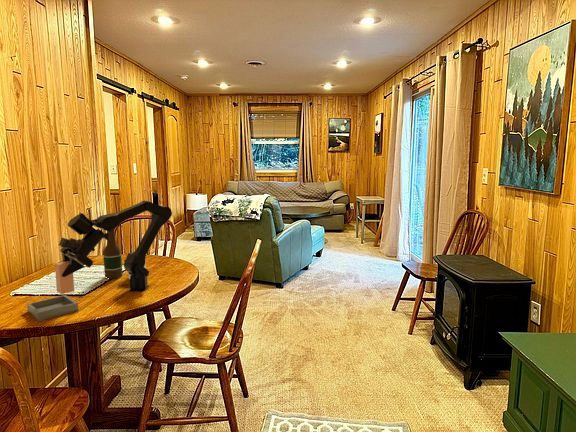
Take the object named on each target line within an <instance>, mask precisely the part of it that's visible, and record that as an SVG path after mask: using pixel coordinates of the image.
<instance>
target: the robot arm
mask: <svg viewBox="0 0 576 432" xmlns="http://www.w3.org/2000/svg"><path fill="white" fill-rule="evenodd" d="M145 212H149V213H151V217H150V224H149V225H148V227H147V229H146V231H145V233H144V235H143V236H142V238H141V240H140V242H139V244H138V246H137V247H136V249H135V251H133V252H134V253H132V254H130V253H131V252H129V253H127V254H128V255H126V258H125V259H124V260H123V262H124V263H123V268H124V270H125V271H126V272H127V273H129V274H130V275H131V276H130V279H129V278H128V283H129V285H128V286H129V292H144V291H147V289H148V288H149V287H150V284H149V285H148V277H149V274H150V270H148V269H147V267H146V268H144V265H145V260H146V261H147V259H146V258H147V254H148V253H149V250H150V249H151V246H153V243H154V241H155V239H156V237H157V236H158V234H159V232H160V230H161V228H162V227H163V226H164V225H166V224H167V223H168V222H169V220H170V219H171V217H172V216H173V212H172V209H171V207H169V206H166V205H165V206H164V205H159V204H156V203H154V202H152V201H150V200H145V199H144V200H141V201H140V202H138V203H136V204H133V205H131V206H129V207H126V208H123V209H121V210H120V211H118V212H113V213H107V214H102V215H100V216H98V217H96V219H89V218H88V217H87V216H86V215H85V214H84V213H83V212H79V213H78V214H77V215H75V216H74V217H73V218H71V219H70V220H69V221H68V223H67V226H68V228H70V229H71V230H72V231H74V232H75V233H77V234H78V235H79V236H82V235H83V237H82V238H79V239H76V238H74V237H73V238H72V237H71V238H64V237H61V238H60V241H59V243H58V246H60V247H62V248H61V249H60V250H59V252H60V253H61V255H62V261H61V262H65V261H69V262H70V263H69V265H68V266H67V268H66V269H65V271H64V272H63V274H62V276H63V277H66V276H67V275H69V274H71V273H73V274H74V273H76V272H77V271H79V270H81V269H82V270H83V268H84V269H85V267H87V268H89V269H90V268H91V267H92V266H93V265H94V261H93V259H91V258H90V257H89V254H91V252H95V250H96V247H97V245H99V243H100V242H101V241H102V240H106V241H107V240H109V238H108V233H107V231H111V230H113V229H115V230H116V228H118V227H119V226H120V225H121V224H122V223H123V222H125V221H127V220H129V219H132V218H133V217H135V216H136V217H137V216H138V215H140V214H142V213H145ZM96 228H97V229H96ZM102 230H103V231H102ZM104 231H106V232H104ZM129 274H128V275H129Z"/></svg>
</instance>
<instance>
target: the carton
mask: <svg viewBox="0 0 576 432" xmlns="http://www.w3.org/2000/svg"><path fill="white" fill-rule="evenodd" d="M69 263H70V262H69V261H65V262H62V261H59V262H54V267H55V268H54V269H55V283H56V286H55V287H56V292H58V293H59V294H60V295H63V294H64V295H65V294H67V293H72V292H75V281H74V279H75V278H74V272H73V273H71V274H69V275H67V276H66V277H63V276H62V274H63V272H64V271H65V269H66V268H67V266H68V265H69Z"/></svg>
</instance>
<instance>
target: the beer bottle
mask: <svg viewBox="0 0 576 432" xmlns="http://www.w3.org/2000/svg"><path fill="white" fill-rule="evenodd" d="M115 230H116V228H115V229H113V230H111V231H106V233H108V238H109V240H106V246H105V247H104V249H103V252H102V253H103V254H102V255H103V257H102V258H103V268H104V278H105V277H107V278H109V279H108V280H116V279H120V278H122V277H123V263H122V262H123V261H122V260H123V259H122V250H121V248H120V246H119V245H118V244H117V241H116V233H115ZM107 278H106V279H107Z"/></svg>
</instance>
